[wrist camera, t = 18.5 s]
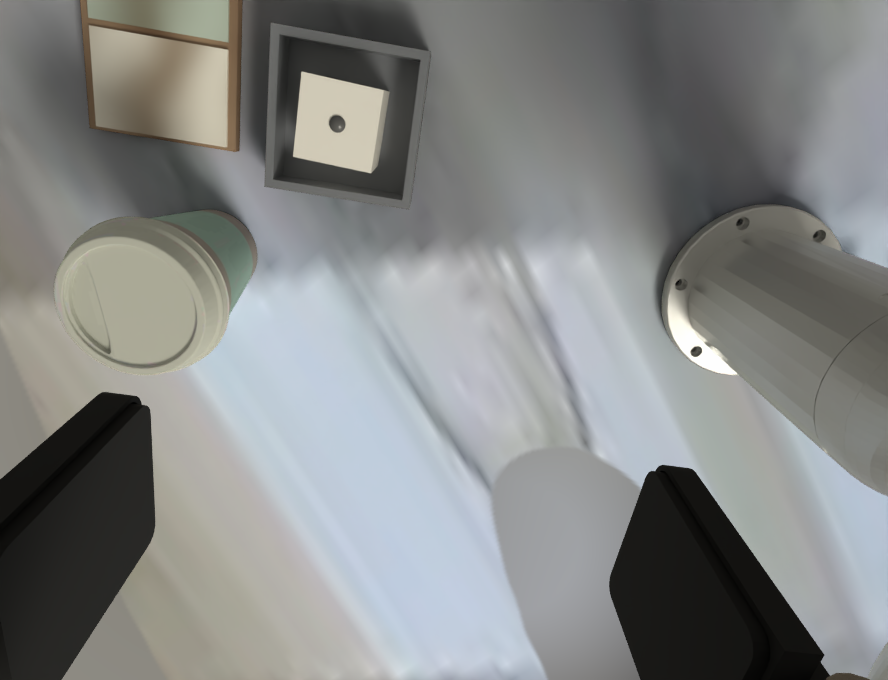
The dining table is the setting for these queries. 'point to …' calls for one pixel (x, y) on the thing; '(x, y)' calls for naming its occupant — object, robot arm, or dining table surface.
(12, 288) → the dining table surface
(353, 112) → the die
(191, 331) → the coffee cup
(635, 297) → the dining table surface
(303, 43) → the dice tray
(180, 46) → the track
